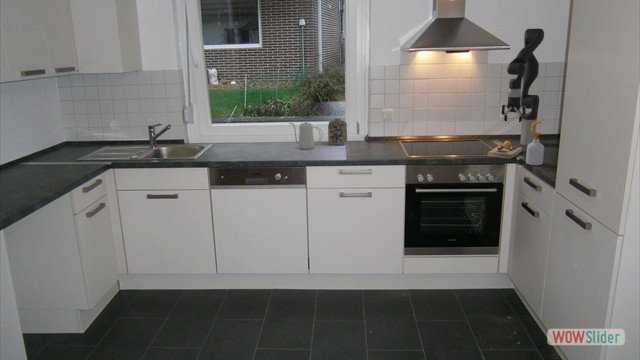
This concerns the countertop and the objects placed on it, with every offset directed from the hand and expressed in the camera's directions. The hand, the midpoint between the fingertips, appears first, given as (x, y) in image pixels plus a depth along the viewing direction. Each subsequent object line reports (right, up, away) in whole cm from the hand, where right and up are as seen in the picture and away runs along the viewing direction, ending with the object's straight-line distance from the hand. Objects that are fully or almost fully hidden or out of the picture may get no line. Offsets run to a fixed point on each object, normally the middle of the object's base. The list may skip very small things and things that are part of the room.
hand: (512, 121), depth 329 cm
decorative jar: (-109, -11, +43) cm, 118 cm away
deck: (-6, -20, -2) cm, 21 cm away
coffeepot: (-131, -15, +32) cm, 136 cm away
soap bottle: (+2, -28, -29) cm, 40 cm away
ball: (-4, -15, -1) cm, 15 cm away
